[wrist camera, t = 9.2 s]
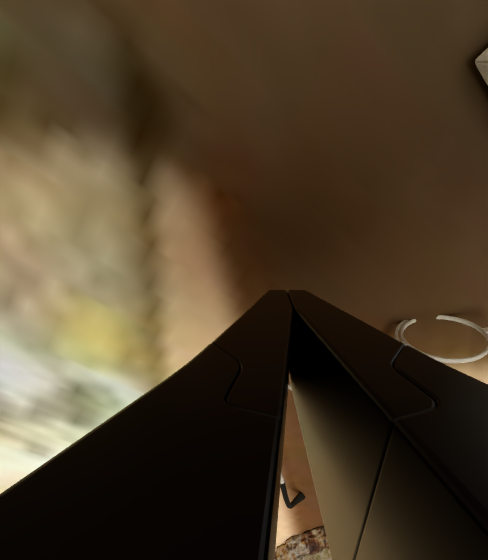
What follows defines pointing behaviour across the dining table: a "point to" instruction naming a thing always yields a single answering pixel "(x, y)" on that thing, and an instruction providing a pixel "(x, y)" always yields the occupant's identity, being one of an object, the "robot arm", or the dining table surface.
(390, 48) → the dining table surface
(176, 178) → the dining table surface
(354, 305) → the dining table surface
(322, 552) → the mineral rock
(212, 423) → the robot arm
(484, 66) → the ink box
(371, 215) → the dining table surface
